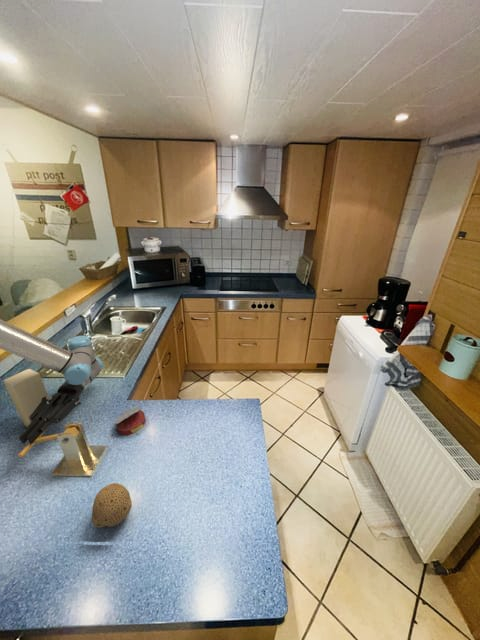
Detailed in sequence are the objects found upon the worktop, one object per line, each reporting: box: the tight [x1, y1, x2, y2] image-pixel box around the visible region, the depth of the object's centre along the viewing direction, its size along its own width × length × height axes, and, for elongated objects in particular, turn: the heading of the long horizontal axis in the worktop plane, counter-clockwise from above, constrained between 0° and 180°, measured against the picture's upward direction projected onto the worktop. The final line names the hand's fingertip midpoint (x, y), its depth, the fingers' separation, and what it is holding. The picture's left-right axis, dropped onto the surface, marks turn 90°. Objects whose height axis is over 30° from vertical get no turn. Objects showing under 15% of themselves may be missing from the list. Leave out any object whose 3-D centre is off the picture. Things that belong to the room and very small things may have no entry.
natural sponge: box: [91, 482, 133, 528], centre depth 64 cm, size 9×9×10 cm
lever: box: [17, 427, 79, 459], centre depth 75 cm, size 15×10×2 cm, turn 89°
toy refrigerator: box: [3, 368, 50, 427], centre depth 90 cm, size 8×7×21 cm
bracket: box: [50, 421, 109, 478], centre depth 77 cm, size 12×10×15 cm
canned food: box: [114, 406, 146, 436], centre depth 92 cm, size 11×10×10 cm
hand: (25, 440), depth 74 cm, fingers closed
